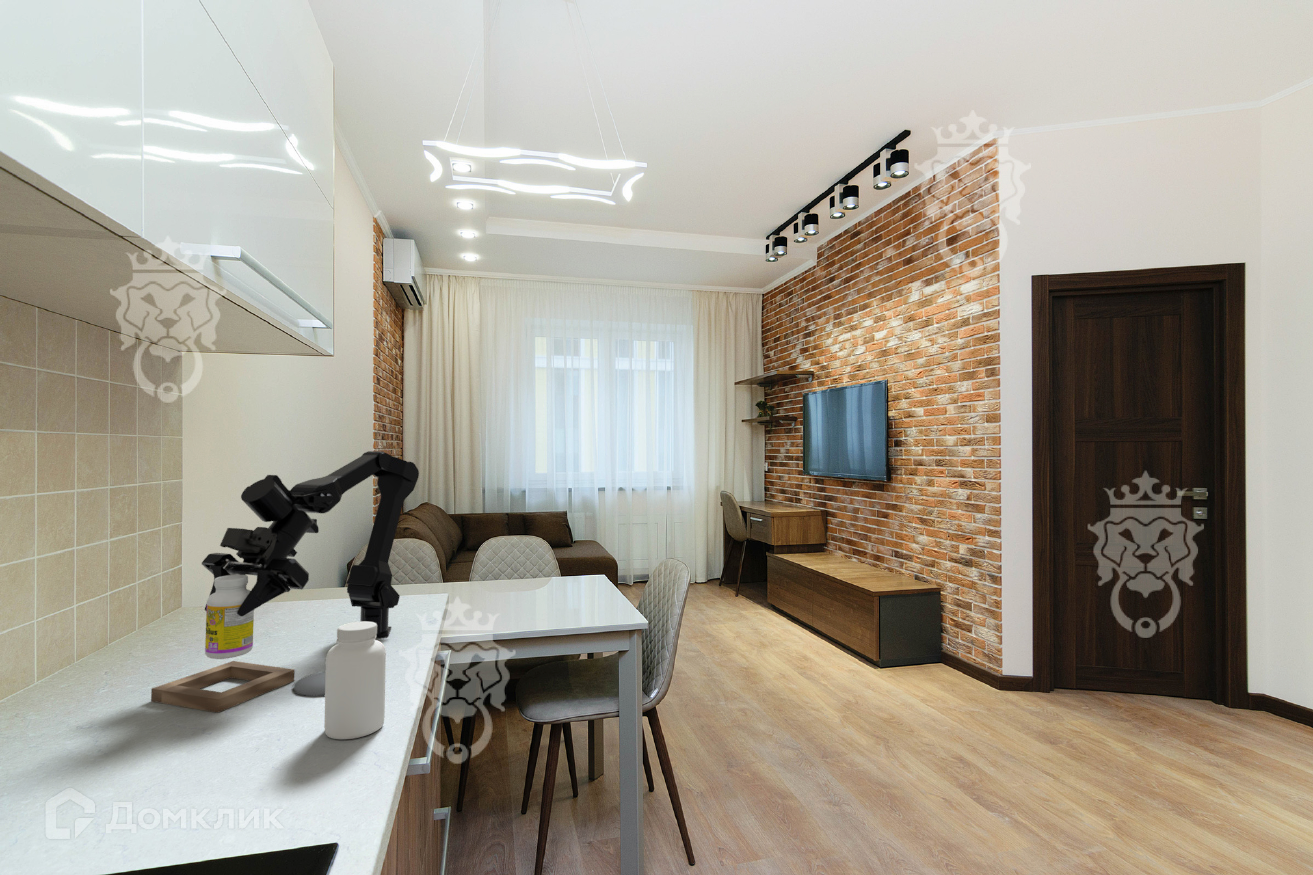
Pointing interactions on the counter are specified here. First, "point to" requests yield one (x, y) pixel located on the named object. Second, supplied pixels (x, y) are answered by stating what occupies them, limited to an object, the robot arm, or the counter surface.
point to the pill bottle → (355, 682)
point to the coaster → (311, 685)
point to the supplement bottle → (228, 619)
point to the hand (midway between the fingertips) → (223, 613)
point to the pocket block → (193, 697)
